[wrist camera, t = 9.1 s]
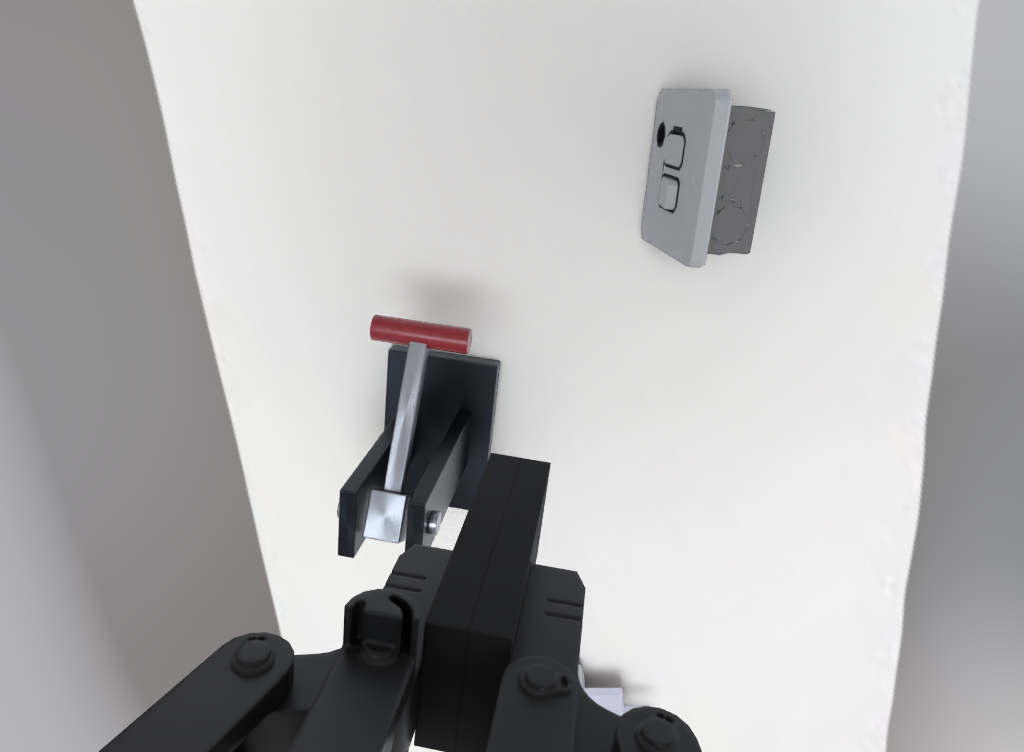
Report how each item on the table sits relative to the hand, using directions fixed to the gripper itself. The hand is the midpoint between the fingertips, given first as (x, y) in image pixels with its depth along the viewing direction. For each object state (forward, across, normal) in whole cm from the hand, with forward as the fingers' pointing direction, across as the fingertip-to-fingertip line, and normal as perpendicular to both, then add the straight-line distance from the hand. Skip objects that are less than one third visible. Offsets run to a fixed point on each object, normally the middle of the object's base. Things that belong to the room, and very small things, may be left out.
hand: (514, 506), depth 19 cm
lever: (+25, -9, -11) cm, 28 cm away
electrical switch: (+35, +6, +6) cm, 36 cm away
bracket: (+34, -9, -15) cm, 38 cm away
